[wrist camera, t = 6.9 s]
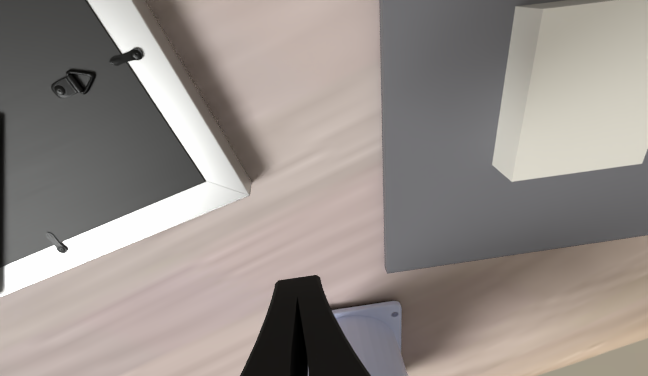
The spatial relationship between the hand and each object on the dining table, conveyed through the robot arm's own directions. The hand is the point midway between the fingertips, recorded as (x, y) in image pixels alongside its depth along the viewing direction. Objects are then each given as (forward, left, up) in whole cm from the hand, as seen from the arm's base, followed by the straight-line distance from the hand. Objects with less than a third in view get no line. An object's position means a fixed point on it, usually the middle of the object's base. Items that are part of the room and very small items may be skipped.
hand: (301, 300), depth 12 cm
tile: (+3, -11, -8) cm, 14 cm away
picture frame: (+4, +14, -10) cm, 18 cm away
